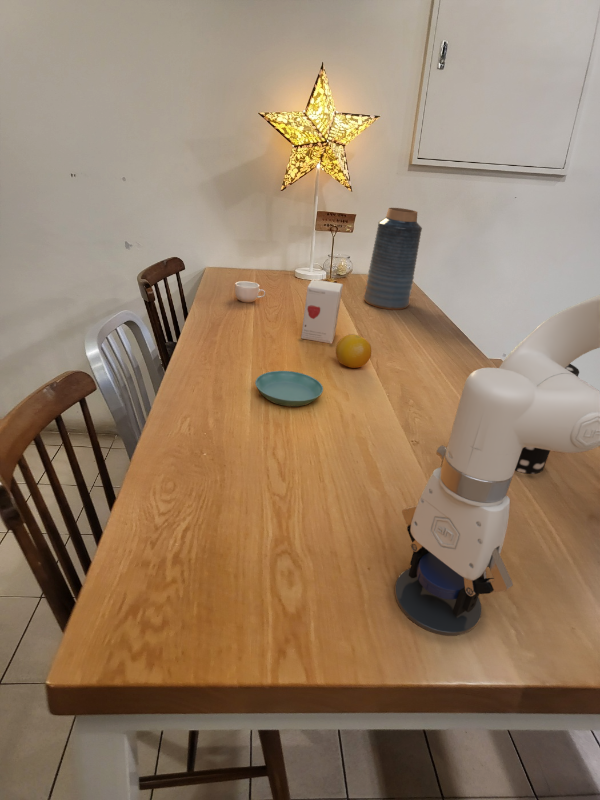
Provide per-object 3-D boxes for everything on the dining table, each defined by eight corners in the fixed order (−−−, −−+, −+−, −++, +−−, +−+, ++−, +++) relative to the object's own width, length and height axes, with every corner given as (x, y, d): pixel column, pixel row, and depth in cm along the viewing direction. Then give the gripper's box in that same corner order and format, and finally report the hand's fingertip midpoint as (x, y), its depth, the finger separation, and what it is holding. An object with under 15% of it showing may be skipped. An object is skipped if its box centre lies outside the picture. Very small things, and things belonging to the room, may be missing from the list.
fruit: (353, 357, 142) (358, 328, 138) (374, 369, 136) (380, 339, 133) (327, 362, 137) (331, 332, 133) (348, 374, 131) (353, 344, 128)
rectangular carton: (300, 339, 150) (306, 286, 143) (305, 329, 158) (311, 278, 151) (332, 344, 149) (339, 291, 142) (336, 333, 157) (343, 283, 150)
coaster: (472, 576, 74) (473, 572, 74) (488, 643, 64) (489, 639, 64) (393, 562, 75) (394, 559, 75) (396, 626, 65) (397, 623, 65)
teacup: (231, 302, 173) (232, 285, 171) (237, 295, 180) (238, 279, 177) (262, 306, 172) (263, 290, 170) (266, 300, 179) (268, 284, 177)
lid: (418, 594, 65) (421, 585, 64) (414, 556, 71) (417, 547, 70) (473, 603, 65) (476, 594, 64) (464, 564, 71) (467, 555, 70)
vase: (402, 298, 199) (420, 209, 185) (413, 312, 185) (434, 216, 170) (359, 294, 197) (374, 204, 183) (367, 308, 183) (383, 211, 169)
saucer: (294, 419, 108) (295, 407, 107) (240, 393, 116) (240, 382, 115) (334, 397, 119) (336, 386, 118) (283, 375, 127) (284, 365, 126)
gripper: (396, 447, 64) (370, 560, 73) (525, 531, 53) (478, 655, 61) (436, 432, 69) (408, 540, 77) (563, 507, 57) (514, 625, 65)
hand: (439, 590), depth 69 cm, fingers closed on lid, 6 cm apart
